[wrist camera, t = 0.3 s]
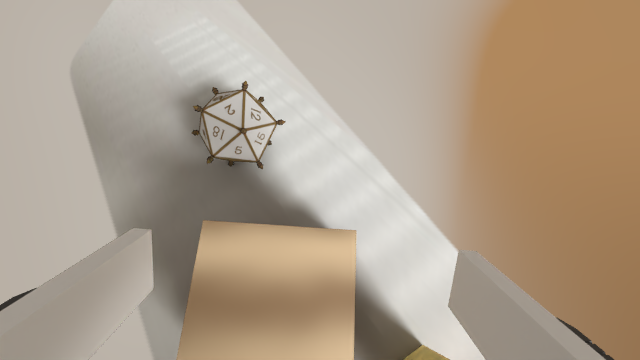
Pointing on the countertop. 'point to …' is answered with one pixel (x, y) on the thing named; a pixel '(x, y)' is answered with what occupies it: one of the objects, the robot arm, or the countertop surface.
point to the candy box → (425, 354)
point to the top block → (271, 294)
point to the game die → (236, 126)
